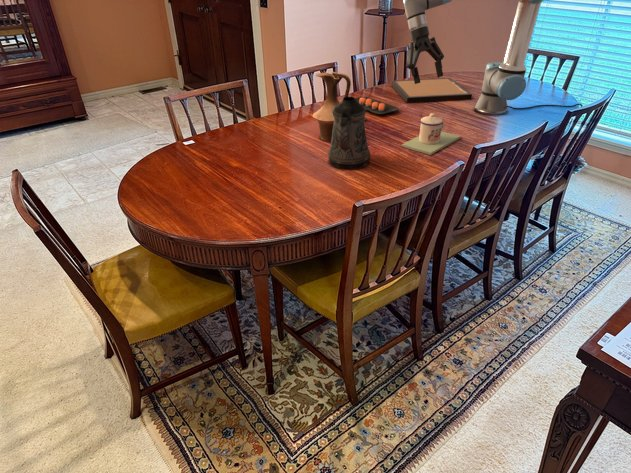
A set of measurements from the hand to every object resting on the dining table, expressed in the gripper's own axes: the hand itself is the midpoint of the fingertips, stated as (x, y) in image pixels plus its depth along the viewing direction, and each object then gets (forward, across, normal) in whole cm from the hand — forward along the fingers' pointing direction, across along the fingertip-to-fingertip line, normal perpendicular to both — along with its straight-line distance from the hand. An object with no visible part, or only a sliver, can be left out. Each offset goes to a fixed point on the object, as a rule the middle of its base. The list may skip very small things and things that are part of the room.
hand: (429, 80), depth 187 cm
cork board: (+6, -44, -47) cm, 65 cm away
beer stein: (+22, +50, 0) cm, 55 cm away
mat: (+25, +10, +4) cm, 27 cm away
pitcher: (+12, +40, -24) cm, 48 cm away
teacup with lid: (+24, +10, +4) cm, 27 cm away
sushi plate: (+5, +8, -44) cm, 45 cm away
